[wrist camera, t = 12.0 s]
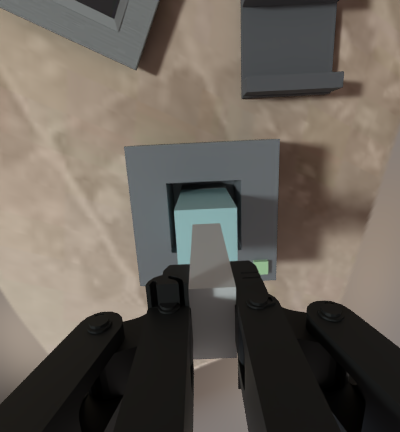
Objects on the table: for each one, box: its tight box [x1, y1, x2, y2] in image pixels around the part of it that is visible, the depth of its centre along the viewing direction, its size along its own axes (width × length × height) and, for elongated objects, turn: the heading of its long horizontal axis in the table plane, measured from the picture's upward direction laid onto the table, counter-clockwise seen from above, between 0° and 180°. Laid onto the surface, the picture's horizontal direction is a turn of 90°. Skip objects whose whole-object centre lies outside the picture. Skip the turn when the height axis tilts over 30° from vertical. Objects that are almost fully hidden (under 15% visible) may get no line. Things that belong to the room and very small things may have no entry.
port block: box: [124, 139, 280, 286], centre depth 26 cm, size 12×12×6 cm
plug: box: [174, 183, 238, 264], centre depth 23 cm, size 4×4×10 cm
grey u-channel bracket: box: [241, 0, 344, 99], centre depth 23 cm, size 8×8×3 cm
